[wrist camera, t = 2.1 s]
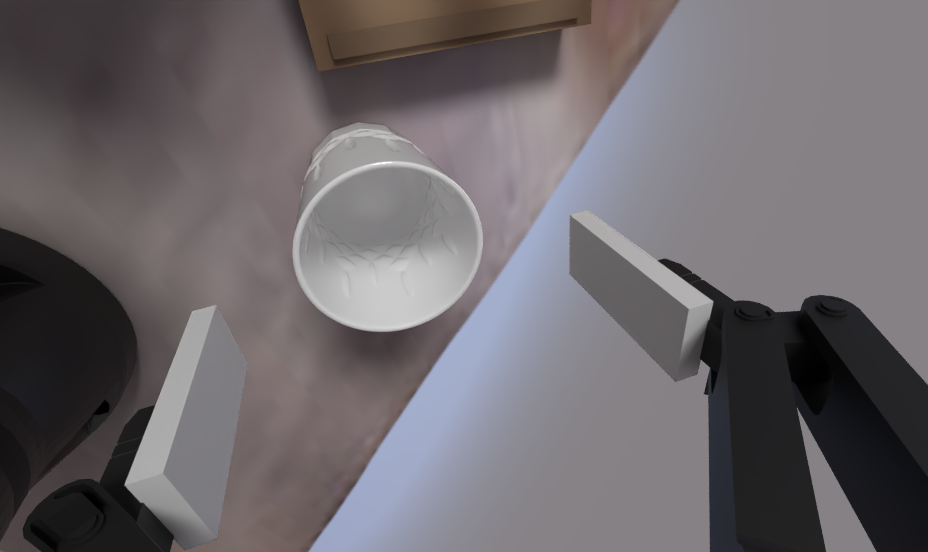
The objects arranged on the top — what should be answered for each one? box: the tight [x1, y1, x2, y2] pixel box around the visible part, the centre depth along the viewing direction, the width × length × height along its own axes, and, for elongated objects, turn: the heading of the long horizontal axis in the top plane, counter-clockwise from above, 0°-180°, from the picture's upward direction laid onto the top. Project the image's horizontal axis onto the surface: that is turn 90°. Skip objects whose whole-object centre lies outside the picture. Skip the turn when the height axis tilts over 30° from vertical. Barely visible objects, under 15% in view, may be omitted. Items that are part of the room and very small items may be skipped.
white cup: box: [292, 122, 483, 332], centre depth 23 cm, size 8×8×10 cm
